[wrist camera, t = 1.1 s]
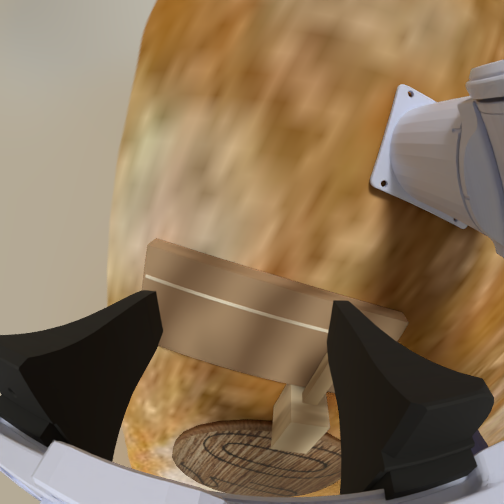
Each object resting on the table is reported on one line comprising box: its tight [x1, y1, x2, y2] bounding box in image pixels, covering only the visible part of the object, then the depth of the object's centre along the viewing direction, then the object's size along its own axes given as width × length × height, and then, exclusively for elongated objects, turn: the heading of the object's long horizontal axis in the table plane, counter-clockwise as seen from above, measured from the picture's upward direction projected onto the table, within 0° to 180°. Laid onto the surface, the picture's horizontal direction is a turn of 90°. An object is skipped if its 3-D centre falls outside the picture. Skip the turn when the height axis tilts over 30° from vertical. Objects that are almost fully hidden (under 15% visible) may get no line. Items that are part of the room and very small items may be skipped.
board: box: [142, 238, 409, 393], centre depth 22 cm, size 21×9×2 cm, turn 74°
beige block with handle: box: [271, 353, 333, 454], centre depth 22 cm, size 4×14×6 cm, turn 164°
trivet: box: [172, 420, 341, 497], centre depth 31 cm, size 25×25×2 cm
